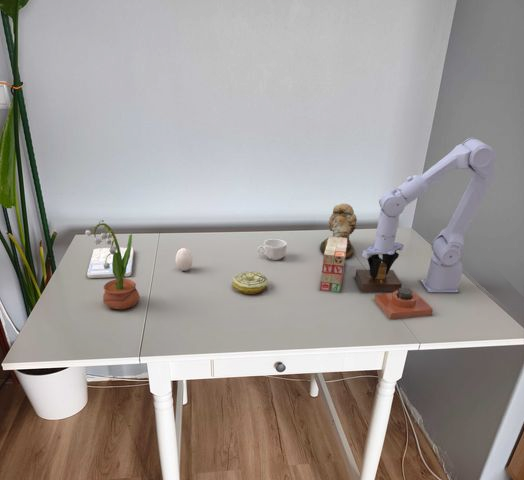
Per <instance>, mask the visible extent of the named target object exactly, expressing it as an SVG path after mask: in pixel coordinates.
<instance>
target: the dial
mask: <svg viewBox="0 0 524 480" xmlns="http://www.w3.org/2000/svg"><path fill="white" fill-rule="evenodd" d="M386 269H387V265H386V264H385V263H382V262H381V264H380V266H379V269H378V273H377V276H376V277H375V279H384V278H385V275H386ZM373 278H374V277H373Z"/></svg>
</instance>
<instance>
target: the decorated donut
mask: <svg viewBox="0 0 524 480" xmlns="http://www.w3.org/2000/svg"><path fill="white" fill-rule="evenodd" d="M269 285H270V283H269V279H268V277H267V276H266V275H265V274H263V273H261V272H259V271H243V272H239V273H237V274H236V275H235V274H234V276H233V278H232V286H233V287H234V289H236V291H237V292H239V293H242V294H245V295H255V294H259V293H262V292H263V291H264V290H265V289H266V288H267V287H269Z"/></svg>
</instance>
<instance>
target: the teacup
mask: <svg viewBox="0 0 524 480" xmlns="http://www.w3.org/2000/svg"><path fill="white" fill-rule="evenodd" d="M287 247H288V242H287V241H286V240H284V239H281V238H268V239H265V240H264V241H263V245H260V246H258V247H257V252H258V253H259V254H261V255H264V256H265V257H266V258H267V259H269V260H271V261H279V260H281V259H282V258H284V257H285V254H286V252H287ZM260 249H262V250H263V252H262V251H260Z"/></svg>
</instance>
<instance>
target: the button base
mask: <svg viewBox="0 0 524 480" xmlns="http://www.w3.org/2000/svg"><path fill="white" fill-rule="evenodd" d="M412 291H413V294H412V298H411V299H410V300H404V299H401V298H399V297H398V296H397V295H398V290H397V291H395V292H393V293H376V294H374V298H373V301H374V302H375V304H376V305H377V306H378V307H379V308H380V309H381V312H383V313H384V314H385V316H386V317H387V318H388V319H389V320H397V319H398V320H399V319H409V318H417V317H418V318H419V317H428V316H432V315H433V311H434V309H433V308H432V306H430V305H429V304H428V303H427V302H426V300H424V299H423V298H422V297H421V296H420V295H419V294H418V293H417V292H416V291H415V290H412Z"/></svg>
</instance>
